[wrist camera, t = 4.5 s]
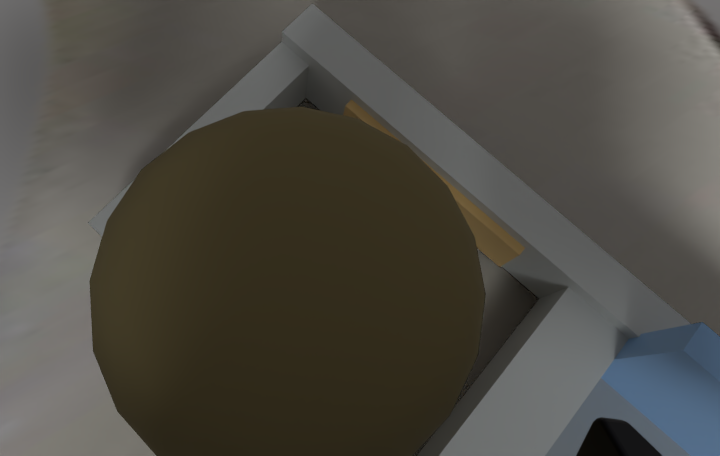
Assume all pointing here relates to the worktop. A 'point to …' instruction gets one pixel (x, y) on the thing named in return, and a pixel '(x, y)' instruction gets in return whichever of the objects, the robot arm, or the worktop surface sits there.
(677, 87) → the worktop surface
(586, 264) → the shallow tray
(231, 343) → the cork
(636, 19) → the worktop surface
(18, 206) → the worktop surface
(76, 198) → the worktop surface
